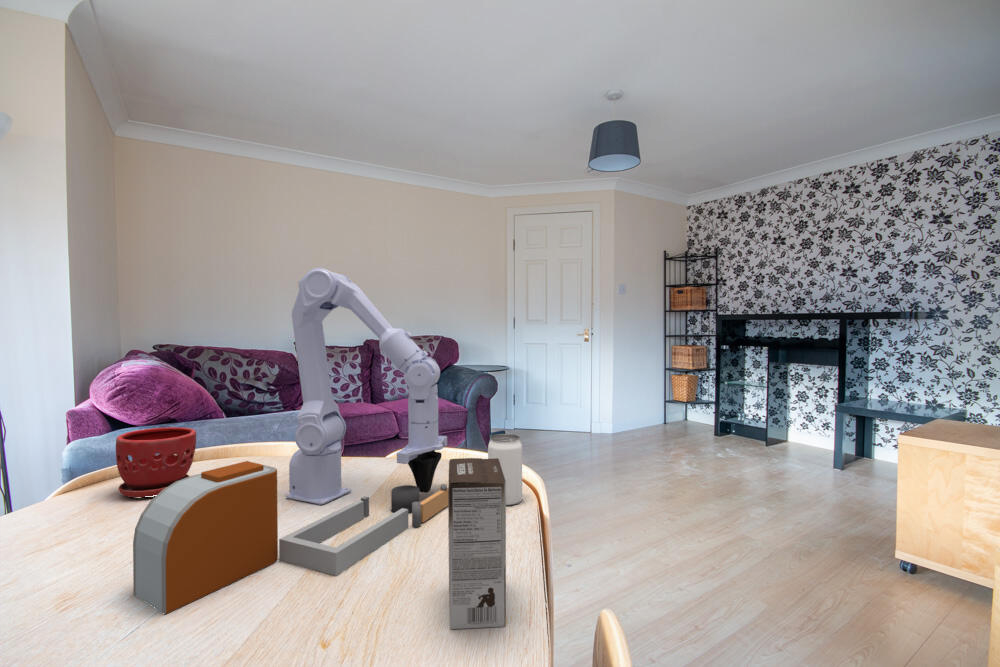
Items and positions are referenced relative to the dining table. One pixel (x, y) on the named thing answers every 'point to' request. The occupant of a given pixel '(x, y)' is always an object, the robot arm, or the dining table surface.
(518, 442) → the can
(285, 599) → the dining table surface
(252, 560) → the grey and orange block
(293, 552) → the grey frame
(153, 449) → the plant pot
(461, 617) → the coffee box
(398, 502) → the dark grey cylinder
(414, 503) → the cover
